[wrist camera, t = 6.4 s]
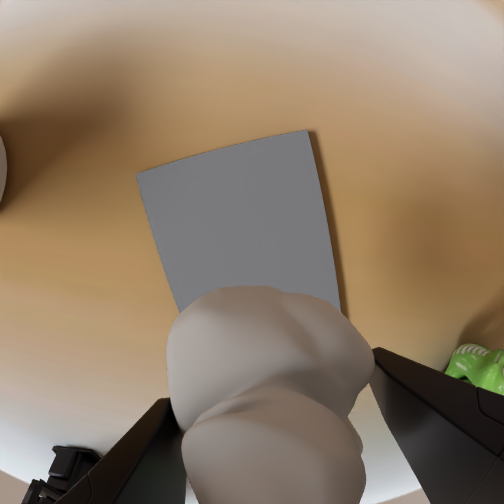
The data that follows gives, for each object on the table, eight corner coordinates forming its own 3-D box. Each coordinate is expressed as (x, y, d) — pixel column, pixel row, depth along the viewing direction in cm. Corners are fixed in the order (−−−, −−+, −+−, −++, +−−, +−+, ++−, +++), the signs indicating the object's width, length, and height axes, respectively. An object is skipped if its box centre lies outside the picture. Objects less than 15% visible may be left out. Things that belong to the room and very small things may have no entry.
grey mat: (341, 336, 20) (344, 341, 20) (205, 370, 20) (204, 375, 20) (304, 130, 16) (307, 129, 16) (138, 173, 16) (135, 174, 16)
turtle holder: (493, 278, 20) (586, 335, 9) (482, 399, 25) (530, 456, 14) (384, 345, 21) (466, 454, 9) (400, 451, 26) (437, 525, 14)
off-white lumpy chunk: (264, 217, 8) (443, 520, 1) (379, 353, 10) (494, 525, 2) (137, 330, 9) (40, 563, 1) (267, 430, 11) (295, 609, 3)
